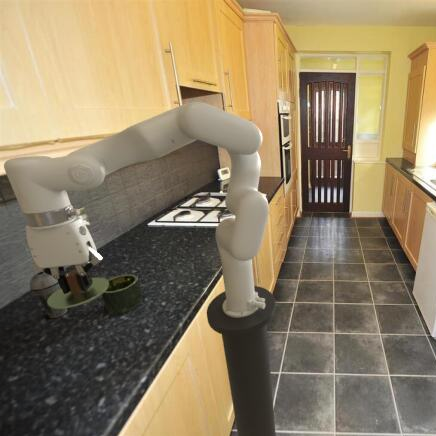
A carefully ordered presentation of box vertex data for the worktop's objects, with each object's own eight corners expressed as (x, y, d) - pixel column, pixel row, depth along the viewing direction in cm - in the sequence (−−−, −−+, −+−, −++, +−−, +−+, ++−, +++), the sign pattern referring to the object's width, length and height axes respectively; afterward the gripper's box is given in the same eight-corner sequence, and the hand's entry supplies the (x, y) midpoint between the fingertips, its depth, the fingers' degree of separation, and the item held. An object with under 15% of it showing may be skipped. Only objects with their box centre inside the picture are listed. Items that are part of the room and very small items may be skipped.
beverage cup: (37, 320, 85) (12, 265, 78) (60, 305, 91) (39, 253, 84) (56, 322, 84) (32, 266, 77) (78, 307, 90) (58, 254, 83)
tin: (149, 297, 95) (144, 277, 92) (123, 317, 86) (116, 295, 83) (127, 292, 98) (121, 272, 95) (99, 310, 88) (91, 289, 85)
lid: (120, 285, 67) (114, 263, 65) (72, 315, 57) (63, 291, 55) (87, 278, 70) (80, 258, 68) (36, 306, 60) (25, 283, 58)
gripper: (102, 207, 62) (123, 275, 68) (17, 214, 58) (48, 285, 65) (86, 218, 55) (111, 293, 61) (-12, 227, 51) (26, 305, 58)
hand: (78, 288), depth 63 cm, fingers closed on lid, 3 cm apart
